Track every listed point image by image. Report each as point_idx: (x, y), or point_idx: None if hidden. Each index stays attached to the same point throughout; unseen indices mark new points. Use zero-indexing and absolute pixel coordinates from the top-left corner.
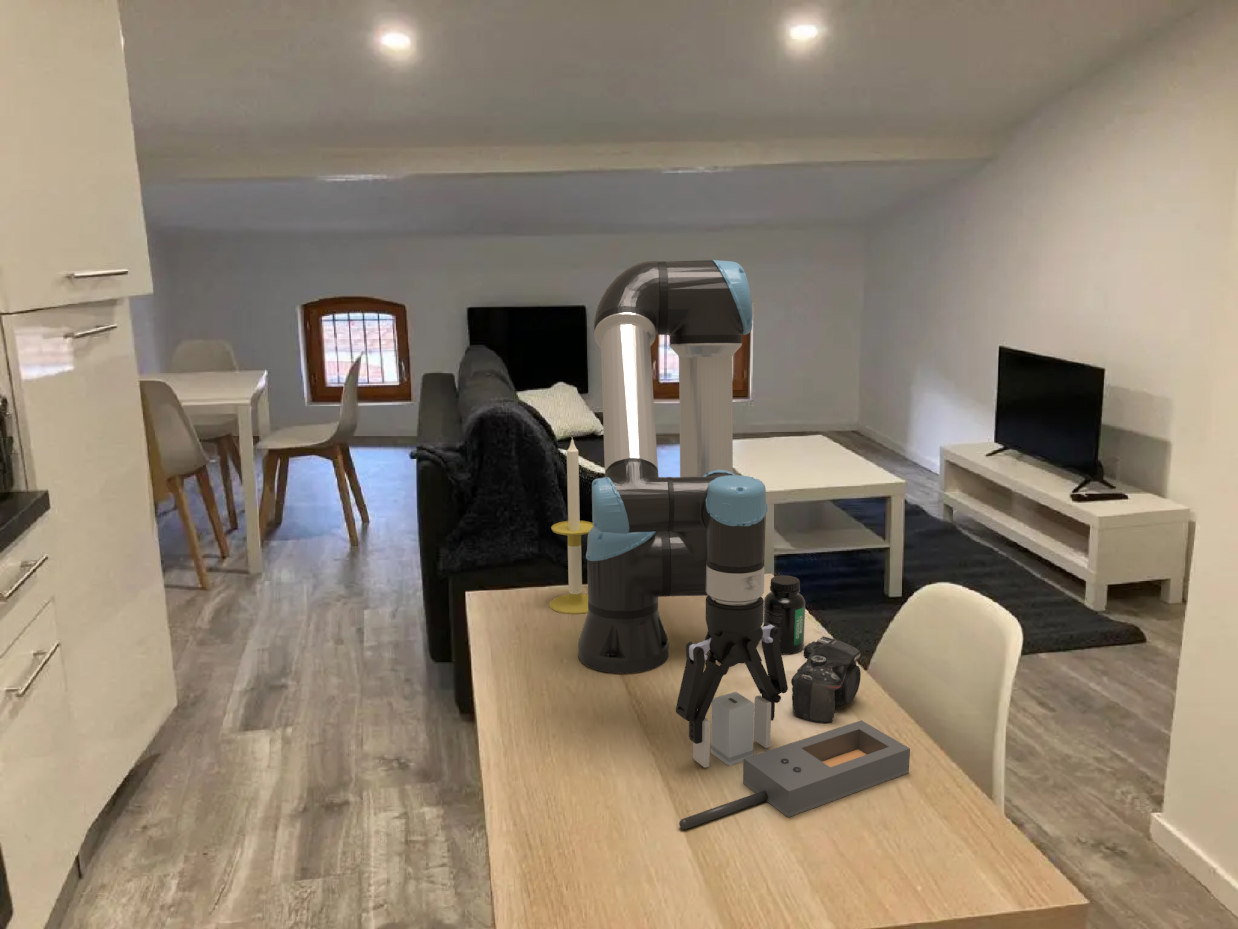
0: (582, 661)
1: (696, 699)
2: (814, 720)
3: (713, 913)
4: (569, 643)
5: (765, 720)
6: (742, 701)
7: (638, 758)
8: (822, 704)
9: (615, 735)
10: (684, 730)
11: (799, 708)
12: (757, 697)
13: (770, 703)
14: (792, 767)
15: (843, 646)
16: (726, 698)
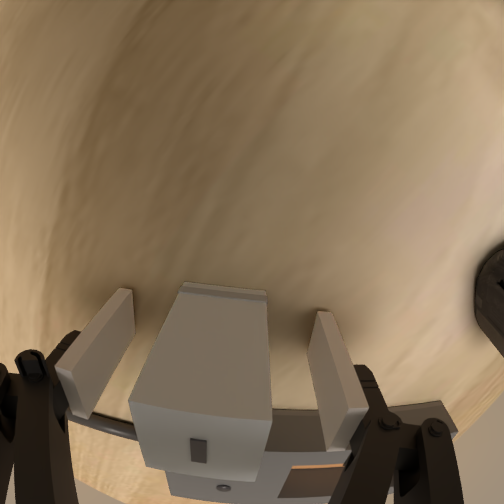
0: None
1: (11, 461)
2: (476, 314)
3: None
4: None
5: (319, 404)
6: (228, 465)
7: (32, 194)
8: (498, 349)
9: (48, 67)
10: (202, 131)
11: (487, 295)
12: (348, 417)
13: (341, 449)
14: (222, 483)
15: None
16: (187, 432)
